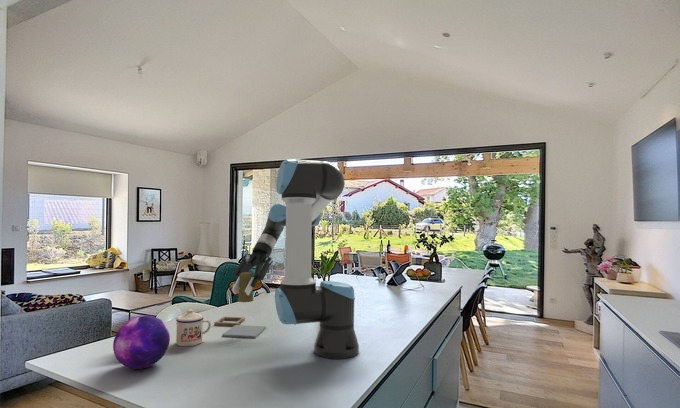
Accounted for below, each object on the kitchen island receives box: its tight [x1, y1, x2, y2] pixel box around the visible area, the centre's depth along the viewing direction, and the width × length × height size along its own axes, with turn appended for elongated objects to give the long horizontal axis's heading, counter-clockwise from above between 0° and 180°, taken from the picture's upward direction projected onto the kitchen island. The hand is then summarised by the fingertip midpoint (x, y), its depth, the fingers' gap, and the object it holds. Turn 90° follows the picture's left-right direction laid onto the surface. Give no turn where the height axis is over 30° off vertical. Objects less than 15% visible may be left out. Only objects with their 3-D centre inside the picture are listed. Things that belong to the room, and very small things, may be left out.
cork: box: [237, 271, 254, 303], centre depth 151 cm, size 6×6×11 cm
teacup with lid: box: [175, 308, 212, 347], centre depth 137 cm, size 12×9×12 cm
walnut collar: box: [213, 316, 246, 327], centre depth 163 cm, size 10×10×1 cm
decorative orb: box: [112, 314, 171, 370], centre depth 114 cm, size 15×15×15 cm
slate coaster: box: [221, 324, 267, 339], centre depth 149 cm, size 13×13×1 cm
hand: (240, 292), depth 147 cm, fingers closed on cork, 5 cm apart
